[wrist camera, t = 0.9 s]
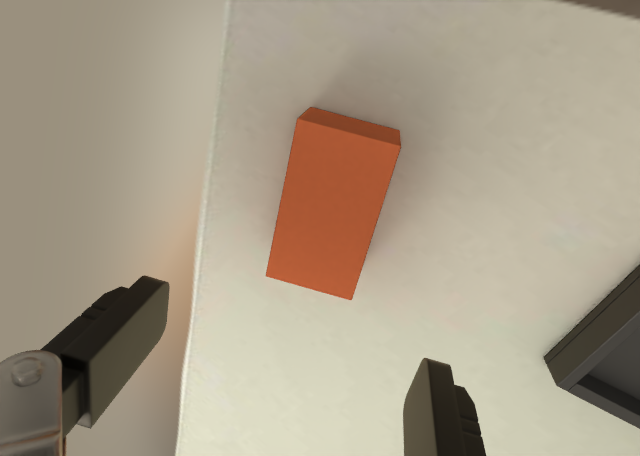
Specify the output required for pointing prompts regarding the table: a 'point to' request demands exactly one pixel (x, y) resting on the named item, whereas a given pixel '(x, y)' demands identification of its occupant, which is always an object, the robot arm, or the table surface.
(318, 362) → the table surface
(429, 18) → the table surface
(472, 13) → the table surface
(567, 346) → the frame
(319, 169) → the orange block
